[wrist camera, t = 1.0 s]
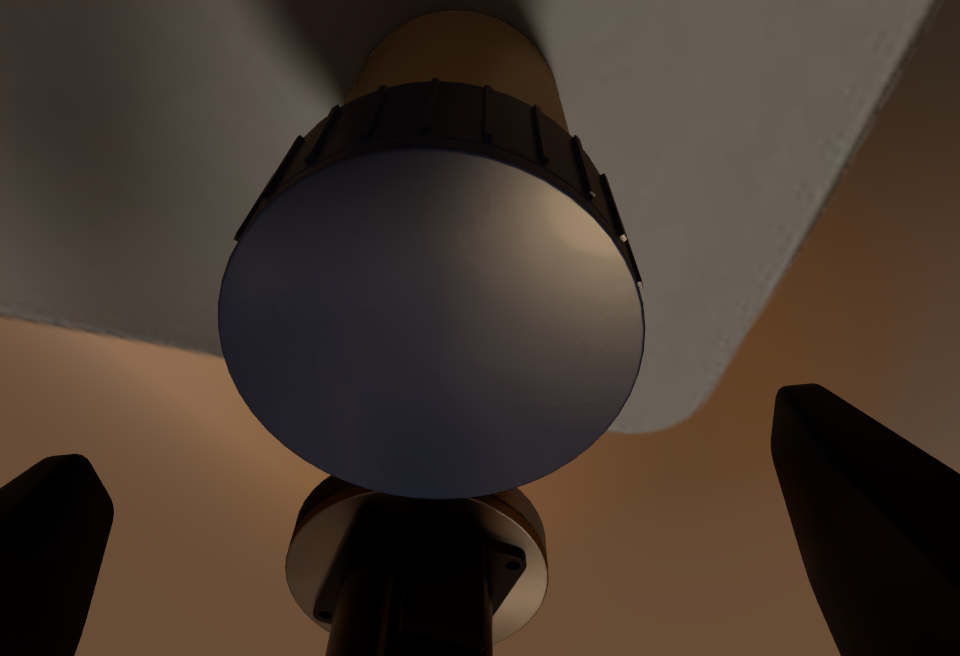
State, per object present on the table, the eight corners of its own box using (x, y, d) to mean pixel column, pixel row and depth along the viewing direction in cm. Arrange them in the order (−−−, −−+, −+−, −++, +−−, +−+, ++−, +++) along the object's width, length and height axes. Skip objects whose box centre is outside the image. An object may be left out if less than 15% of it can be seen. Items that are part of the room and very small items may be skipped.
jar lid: (530, 428, 15) (538, 542, 13) (231, 333, 14) (178, 438, 11) (687, 163, 12) (737, 248, 9) (318, 9, 11) (270, 61, 8)
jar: (510, 240, 21) (524, 498, 13) (329, 172, 20) (219, 408, 12) (596, 62, 18) (683, 247, 10) (391, -28, 17) (305, 99, 9)
